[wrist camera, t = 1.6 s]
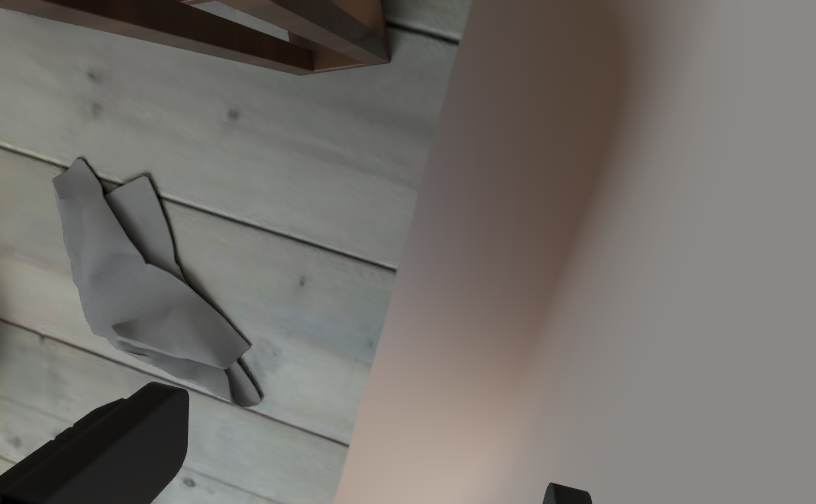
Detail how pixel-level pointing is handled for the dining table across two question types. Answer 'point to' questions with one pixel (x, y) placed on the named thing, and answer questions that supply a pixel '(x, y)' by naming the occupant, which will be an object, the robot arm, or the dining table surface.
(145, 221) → the cloth
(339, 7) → the stand
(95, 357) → the dining table surface
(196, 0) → the brown slatted wooden frame
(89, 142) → the dining table surface
